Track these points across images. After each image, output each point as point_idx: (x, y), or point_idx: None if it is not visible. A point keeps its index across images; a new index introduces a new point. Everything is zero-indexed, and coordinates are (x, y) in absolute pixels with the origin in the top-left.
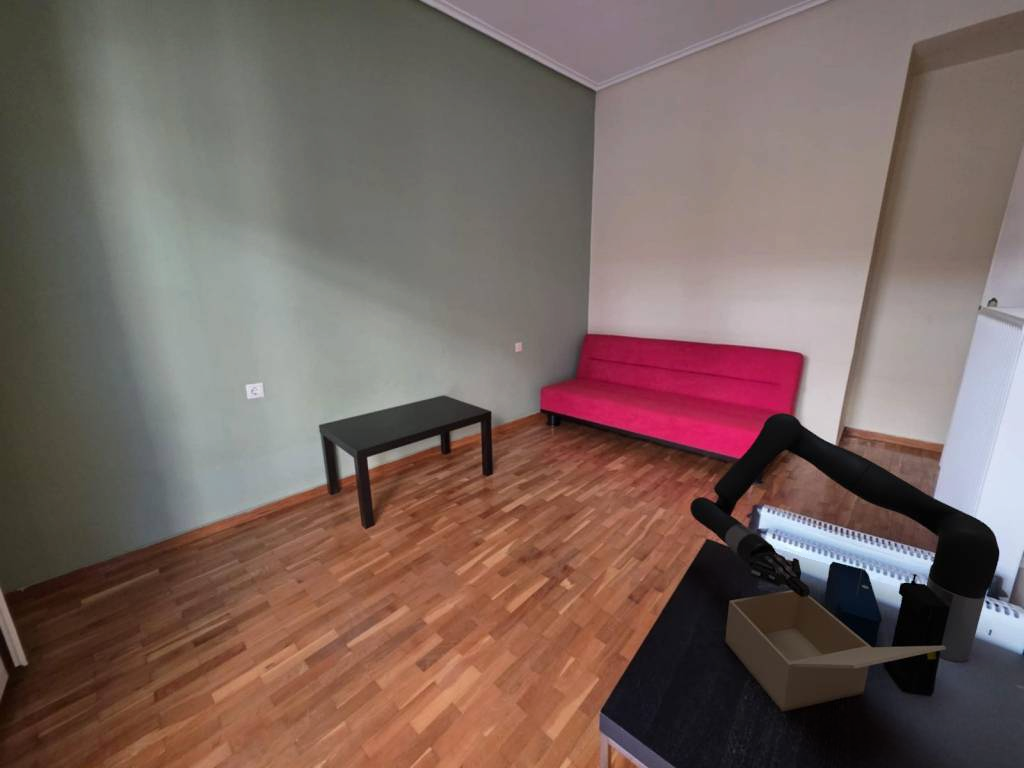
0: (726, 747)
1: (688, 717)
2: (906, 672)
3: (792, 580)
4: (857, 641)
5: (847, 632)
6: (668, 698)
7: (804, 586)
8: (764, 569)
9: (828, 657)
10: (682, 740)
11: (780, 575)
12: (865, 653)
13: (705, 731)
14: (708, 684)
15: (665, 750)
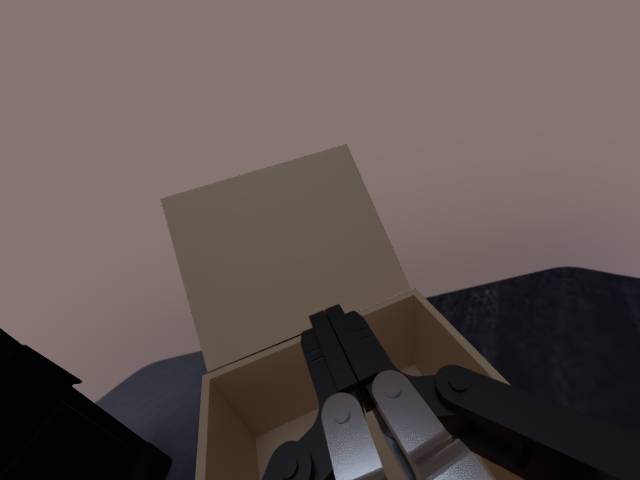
0: (497, 293)
1: (570, 316)
2: (137, 458)
3: (369, 358)
4: (212, 410)
5: (211, 441)
6: (630, 339)
7: (324, 321)
8: (590, 448)
9: (334, 296)
10: (561, 286)
11: (441, 383)
12: (270, 266)
13: (533, 303)
14: (567, 390)
15: (576, 271)
